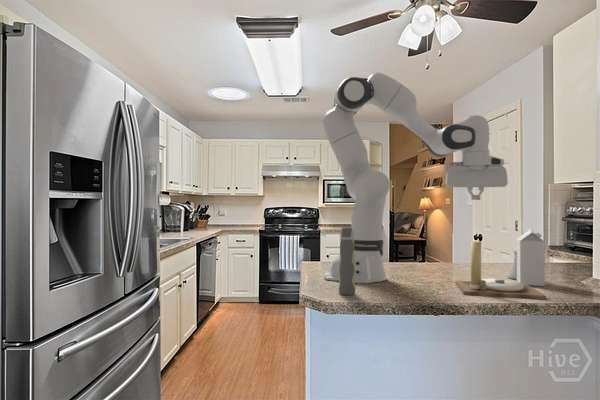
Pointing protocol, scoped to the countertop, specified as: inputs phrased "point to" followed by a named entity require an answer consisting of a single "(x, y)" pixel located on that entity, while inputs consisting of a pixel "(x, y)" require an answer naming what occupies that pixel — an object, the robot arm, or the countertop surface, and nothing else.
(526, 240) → the milk carton
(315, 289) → the countertop surface
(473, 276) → the white and beige stand
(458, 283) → the base board
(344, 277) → the grey upright post
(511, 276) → the flask
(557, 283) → the countertop surface
